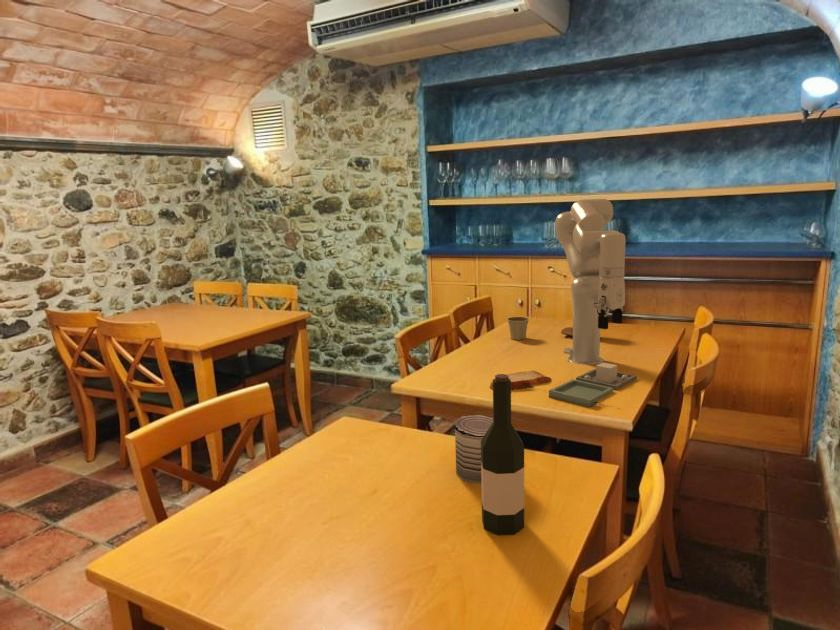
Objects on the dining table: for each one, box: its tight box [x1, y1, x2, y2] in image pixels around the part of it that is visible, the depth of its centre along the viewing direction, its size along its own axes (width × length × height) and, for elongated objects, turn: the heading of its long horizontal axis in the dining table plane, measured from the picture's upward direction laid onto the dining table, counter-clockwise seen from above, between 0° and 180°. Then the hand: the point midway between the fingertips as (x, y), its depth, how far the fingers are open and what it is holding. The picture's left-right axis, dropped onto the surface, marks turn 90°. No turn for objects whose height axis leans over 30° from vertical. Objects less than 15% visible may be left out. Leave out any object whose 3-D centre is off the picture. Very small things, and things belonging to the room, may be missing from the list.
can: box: [452, 414, 493, 485], centre depth 135 cm, size 11×11×12 cm
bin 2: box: [575, 368, 638, 391], centre depth 194 cm, size 14×14×3 cm
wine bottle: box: [480, 373, 525, 536], centre depth 112 cm, size 8×8×30 cm
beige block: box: [595, 362, 618, 383], centre depth 193 cm, size 5×4×5 cm
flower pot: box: [506, 316, 530, 341], centre depth 254 cm, size 9×9×9 cm
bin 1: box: [548, 378, 614, 408], centre depth 183 cm, size 14×14×2 cm
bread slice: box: [489, 370, 552, 391], centre depth 195 cm, size 18×18×4 cm
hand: (610, 325), depth 189 cm, fingers open, 9 cm apart
